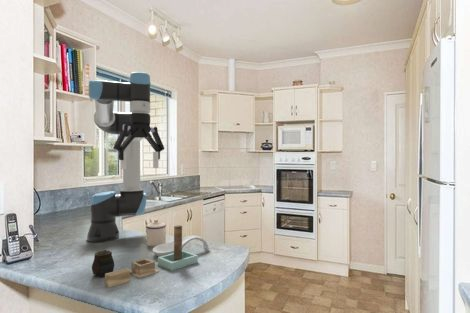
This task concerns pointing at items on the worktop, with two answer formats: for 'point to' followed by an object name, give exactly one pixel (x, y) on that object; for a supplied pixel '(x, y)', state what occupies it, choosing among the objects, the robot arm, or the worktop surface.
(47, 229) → the worktop surface
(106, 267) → the mate gourd
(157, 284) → the worktop surface
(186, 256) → the tray
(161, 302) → the worktop surface
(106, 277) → the block
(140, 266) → the socket block
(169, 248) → the spoon rest
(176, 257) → the dowel
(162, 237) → the beige lidded jar
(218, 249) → the worktop surface
